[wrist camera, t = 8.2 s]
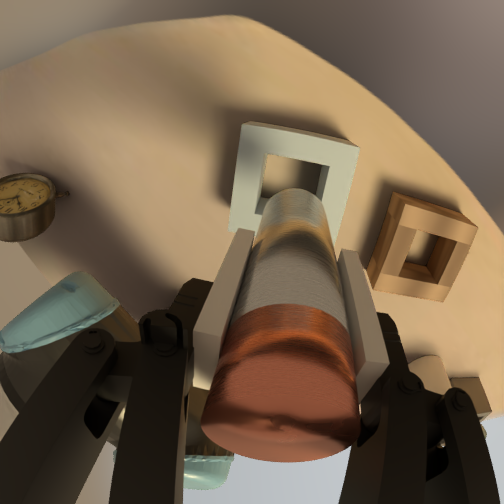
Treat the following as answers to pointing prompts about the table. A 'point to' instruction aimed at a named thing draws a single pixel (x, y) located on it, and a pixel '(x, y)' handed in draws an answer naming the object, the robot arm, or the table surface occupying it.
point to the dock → (297, 147)
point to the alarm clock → (26, 206)
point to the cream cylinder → (431, 373)
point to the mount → (400, 239)
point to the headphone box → (473, 396)
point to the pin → (287, 345)
